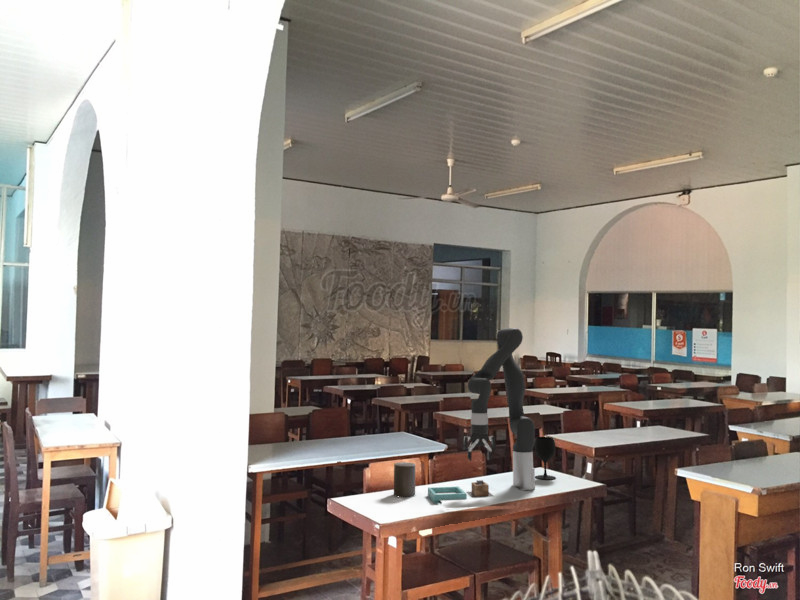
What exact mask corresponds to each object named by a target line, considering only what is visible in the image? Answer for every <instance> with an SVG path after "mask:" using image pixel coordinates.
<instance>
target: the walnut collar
mask: <svg viewBox="0 0 800 600" xmlns="http://www.w3.org/2000/svg"><path fill="white" fill-rule="evenodd" d="M489 489H490V487H489V484H488V483H487V482H485V481H483V483H482V485H478V483H477V481H474V482H473V481H471V492H472V493H473V494H474V495H475V496H485V495H489Z"/></svg>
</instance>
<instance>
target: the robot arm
mask: <svg viewBox="0 0 800 600" xmlns="http://www.w3.org/2000/svg"><path fill="white" fill-rule="evenodd" d="M523 338H524V336H523V333H522V331H521V330H520V329H519V328H517V327H510V328H508V327H507V328H501V329H499V330H498V331H497V333H496V344H497V348H498V350H496V351H495V352H494V353H493V354H491V356H489V357H488V358H487V359H486V360H485V362H484V364H483V365H482V367H481V369H479V370H478V371H477V372H476V373H475V374H473V375H472V376H471V377H470V378H469V380H468V383H467V390H468V391H469V392H470V393H472V394H479V395H478V398H475V399H472V401H471V413H470V414H471V415H470V416H471V417H470V435H469V436H467V435H464V436H463V445H462V449H463V450H464V451H466V452H467V456H466V457H467V459H468V460H469V461H471V462H472V451H473V449H474V448H475V447H485V448H486V450H487V454H486V459H487V461H491V459H492V452H493V451H495V450H496V449H497V448H496V437H495V436H494V435H490V436H489V416H488V403H489V400H490V396H491V391H492V384H491V383H492V382H491V380H494V378H495V377H496V376H497V374H498V372H499V370H500V369H501V367H502V369H503V370H502V371H503V376H504V377H503V379H504V385H505V390H506V391H505V392H506V398H507V404H508V419H509V421H508V423H509V429H510V431H511V433H512V434H514V435H515V436H516V442H515V443H514V444H513V445H512V485H513V487H514V488H516V489H518V490H519V491H531V490H535V489H536V481H535V480H536V478H535V476H536V475H535V468H534V446H535V440H536V435H535V433H536V431H535V430H536V428H535V422H534V421H533V420H532V419H531V418H530V417H527V416H525V413H524V408H523V405H524V403H523V402H524V398H525V394H526V381H525V375H524V373H523V370H522V369H521V367H520V366H519V364H517V362H516V360H515V359H514V356H513V353H514V352H515V351H516V350H517V349H518V348H519V347H520V346H521V345H522V342H523ZM469 441H471V442H470V444H469V446H468V443H469ZM488 441H490V443H491V445H489V444H488ZM490 446H491V447H490Z"/></svg>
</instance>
